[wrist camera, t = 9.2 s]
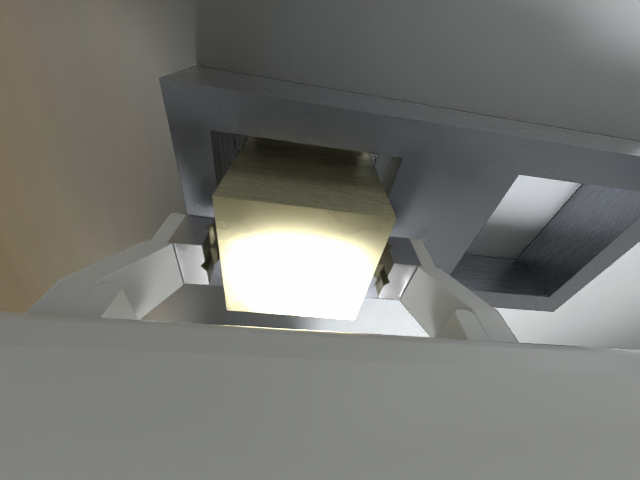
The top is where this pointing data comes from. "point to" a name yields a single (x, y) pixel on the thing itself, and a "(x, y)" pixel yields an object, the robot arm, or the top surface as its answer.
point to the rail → (426, 175)
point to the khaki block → (300, 228)
